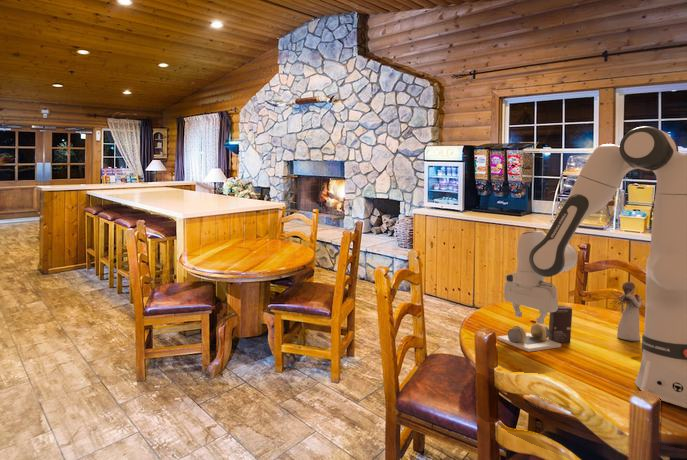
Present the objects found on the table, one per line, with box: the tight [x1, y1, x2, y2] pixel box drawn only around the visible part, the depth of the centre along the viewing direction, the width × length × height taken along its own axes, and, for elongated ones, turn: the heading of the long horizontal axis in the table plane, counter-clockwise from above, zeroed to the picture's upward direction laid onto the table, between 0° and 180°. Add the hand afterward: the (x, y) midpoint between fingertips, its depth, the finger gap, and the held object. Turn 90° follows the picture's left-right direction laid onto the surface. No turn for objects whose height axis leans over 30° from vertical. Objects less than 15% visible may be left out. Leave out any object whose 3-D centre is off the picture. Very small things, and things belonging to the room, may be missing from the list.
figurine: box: [610, 281, 643, 342], centre depth 152 cm, size 10×10×20 cm
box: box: [547, 304, 573, 344], centre depth 149 cm, size 6×4×12 cm
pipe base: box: [496, 322, 562, 353], centre depth 146 cm, size 14×14×6 cm
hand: (529, 319), depth 146 cm, fingers open, 8 cm apart
